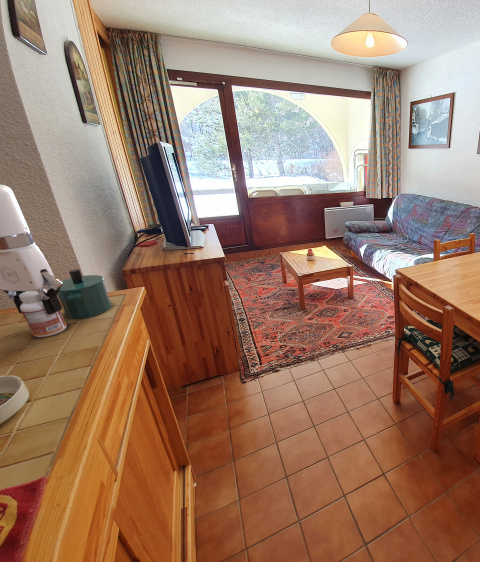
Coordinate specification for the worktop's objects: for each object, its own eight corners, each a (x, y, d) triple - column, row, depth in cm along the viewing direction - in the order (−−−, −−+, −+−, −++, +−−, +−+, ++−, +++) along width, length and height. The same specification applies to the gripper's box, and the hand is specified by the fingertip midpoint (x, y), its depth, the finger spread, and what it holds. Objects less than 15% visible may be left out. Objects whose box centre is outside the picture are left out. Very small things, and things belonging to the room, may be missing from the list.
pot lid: (48, 297, 80) (40, 280, 78) (60, 282, 88) (54, 267, 86) (100, 289, 85) (94, 273, 83) (107, 276, 93) (102, 261, 91)
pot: (59, 326, 81) (46, 298, 78) (74, 303, 93) (63, 277, 90) (106, 317, 86) (96, 290, 82) (115, 296, 98) (106, 272, 94)
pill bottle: (44, 326, 81) (26, 288, 77) (72, 323, 83) (56, 286, 78) (27, 339, 76) (6, 299, 71) (57, 336, 77) (39, 296, 73)
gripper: (-50, 245, 66) (-10, 317, 74) (28, 247, 66) (61, 320, 73) (-9, 236, 73) (24, 303, 80) (62, 238, 73) (89, 305, 80)
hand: (41, 310), depth 77 cm, fingers closed on pill bottle, 6 cm apart
